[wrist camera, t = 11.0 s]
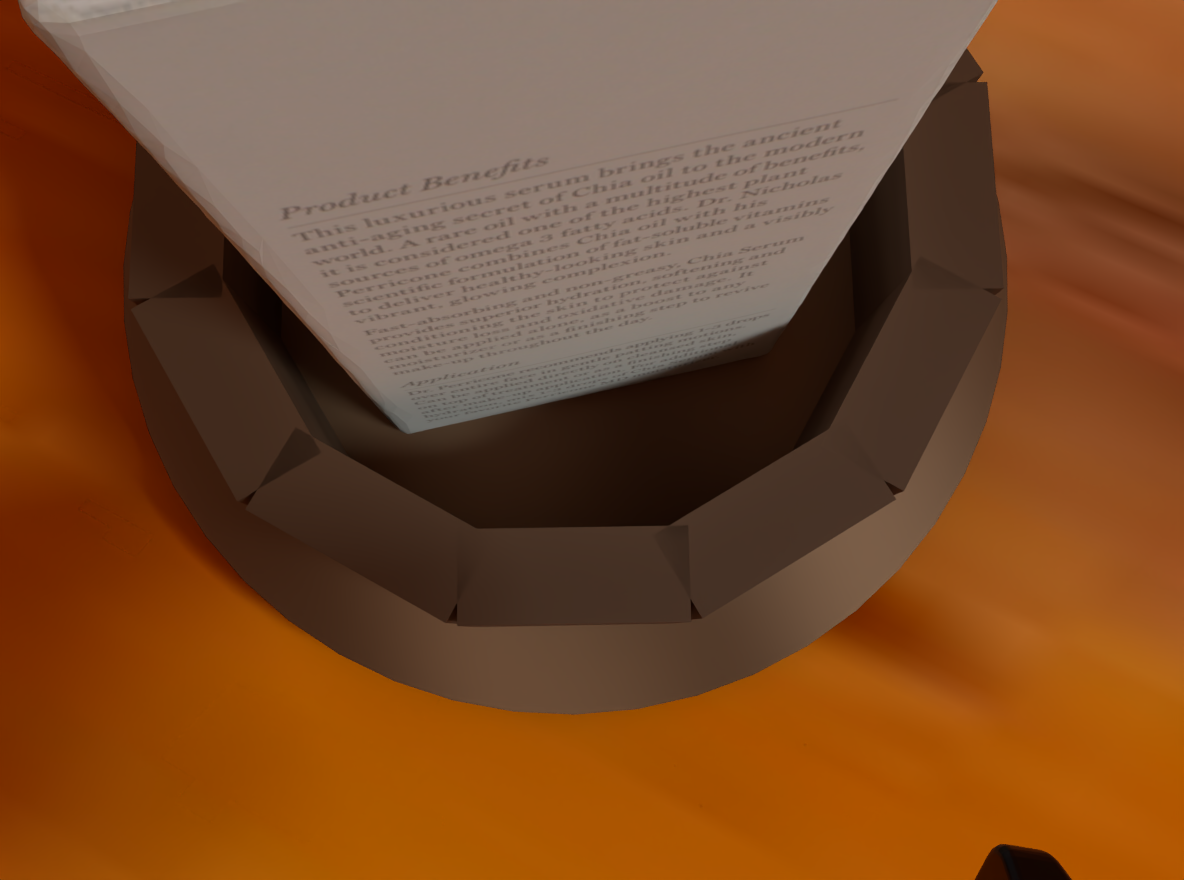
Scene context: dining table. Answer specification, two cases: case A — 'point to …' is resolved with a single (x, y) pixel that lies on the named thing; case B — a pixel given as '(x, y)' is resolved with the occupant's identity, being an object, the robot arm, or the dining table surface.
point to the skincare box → (521, 169)
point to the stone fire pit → (590, 458)
